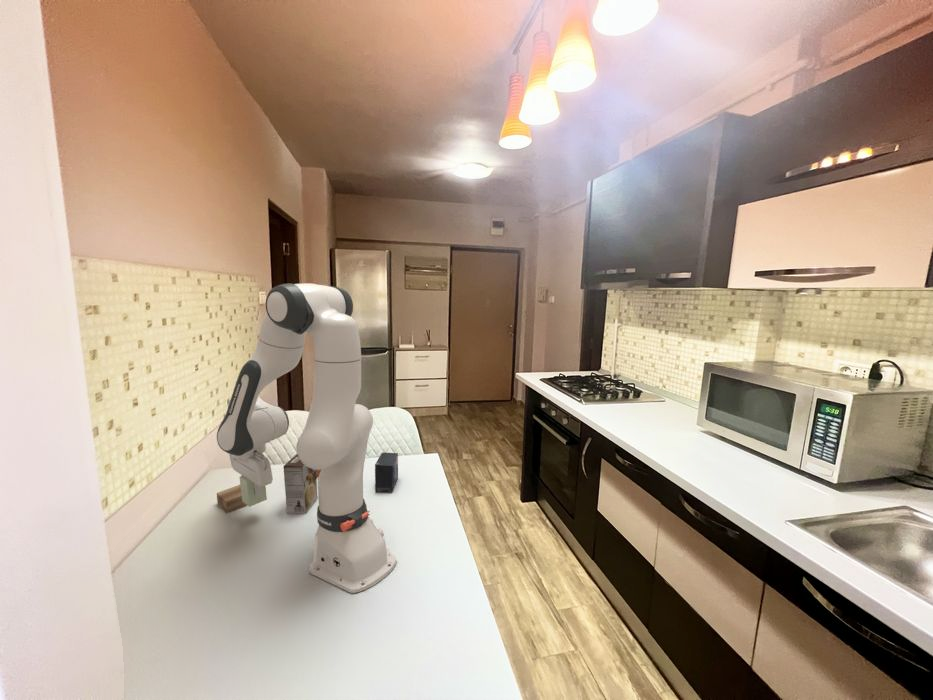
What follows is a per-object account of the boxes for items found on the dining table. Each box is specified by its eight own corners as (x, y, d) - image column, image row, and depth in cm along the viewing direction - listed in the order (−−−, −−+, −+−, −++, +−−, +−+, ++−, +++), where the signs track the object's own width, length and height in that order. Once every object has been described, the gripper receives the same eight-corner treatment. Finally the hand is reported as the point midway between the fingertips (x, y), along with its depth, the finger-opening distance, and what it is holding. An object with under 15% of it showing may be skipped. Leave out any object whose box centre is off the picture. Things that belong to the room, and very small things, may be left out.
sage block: (266, 499, 116) (264, 474, 115) (249, 506, 112) (246, 481, 111) (259, 494, 119) (256, 470, 118) (242, 501, 115) (239, 476, 114)
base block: (254, 502, 125) (253, 491, 125) (227, 513, 119) (226, 501, 118) (244, 494, 130) (243, 483, 129) (217, 504, 124) (216, 493, 123)
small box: (393, 493, 132) (392, 465, 130) (374, 493, 132) (373, 464, 130) (399, 478, 142) (398, 452, 141) (381, 478, 142) (381, 451, 141)
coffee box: (299, 498, 128) (296, 453, 126) (318, 498, 128) (315, 453, 126) (286, 513, 119) (282, 465, 117) (306, 514, 119) (303, 466, 117)
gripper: (276, 452, 109) (280, 497, 111) (245, 436, 122) (250, 477, 124) (252, 459, 104) (257, 506, 106) (223, 442, 117) (228, 485, 119)
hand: (253, 490), depth 115 cm, fingers closed on sage block, 5 cm apart
